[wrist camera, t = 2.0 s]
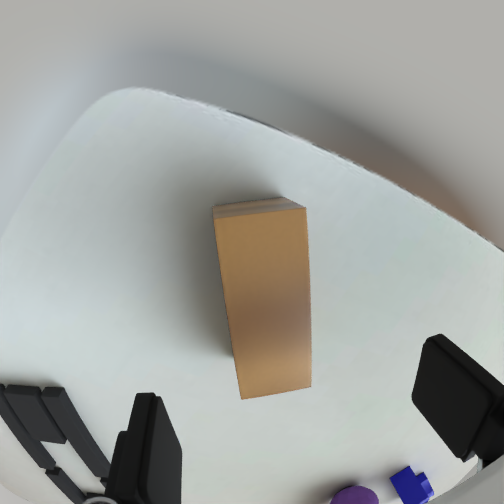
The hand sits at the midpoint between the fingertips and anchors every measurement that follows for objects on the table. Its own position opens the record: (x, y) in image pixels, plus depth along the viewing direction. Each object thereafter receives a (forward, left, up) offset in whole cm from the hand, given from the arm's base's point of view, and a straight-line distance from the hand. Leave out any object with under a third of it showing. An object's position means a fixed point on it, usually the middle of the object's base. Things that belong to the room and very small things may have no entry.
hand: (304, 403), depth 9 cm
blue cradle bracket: (+35, +19, -10) cm, 41 cm away
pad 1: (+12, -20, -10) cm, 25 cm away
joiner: (0, 0, -10) cm, 10 cm away
